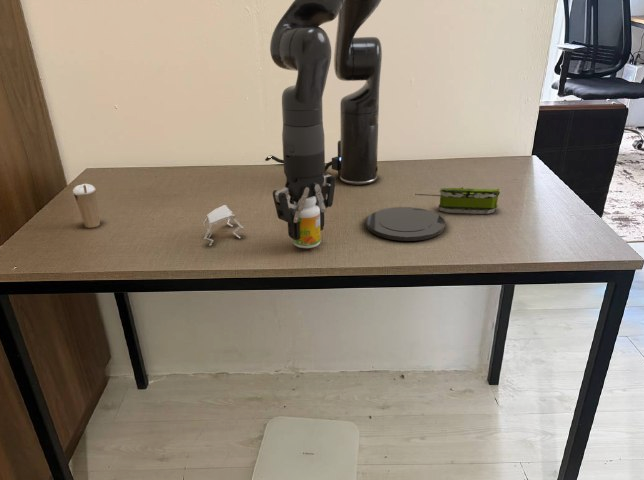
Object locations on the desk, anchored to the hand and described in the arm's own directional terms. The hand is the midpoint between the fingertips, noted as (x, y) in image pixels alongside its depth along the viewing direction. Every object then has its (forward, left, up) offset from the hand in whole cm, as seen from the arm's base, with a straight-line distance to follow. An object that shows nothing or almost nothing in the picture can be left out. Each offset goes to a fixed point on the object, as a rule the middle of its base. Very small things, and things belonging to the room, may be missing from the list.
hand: (306, 233), depth 111 cm
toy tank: (+8, +36, -3) cm, 37 cm away
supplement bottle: (0, 0, -2) cm, 2 cm away
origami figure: (-17, -8, -3) cm, 19 cm away
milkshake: (-42, -26, -3) cm, 49 cm away
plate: (+7, +21, -3) cm, 22 cm away
